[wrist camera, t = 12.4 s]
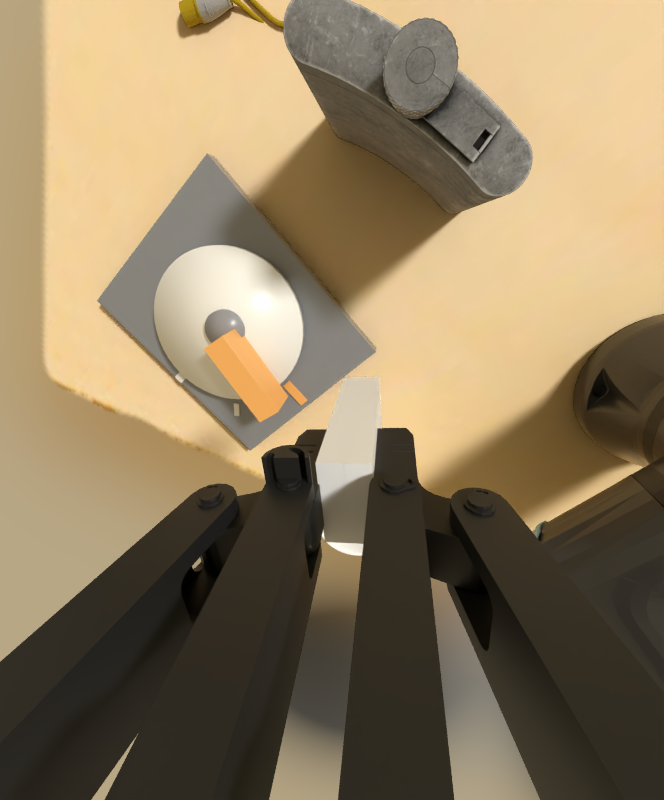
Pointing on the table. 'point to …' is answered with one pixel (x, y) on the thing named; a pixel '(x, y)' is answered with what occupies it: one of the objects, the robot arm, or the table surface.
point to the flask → (407, 100)
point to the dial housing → (248, 228)
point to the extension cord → (217, 11)
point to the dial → (230, 325)
